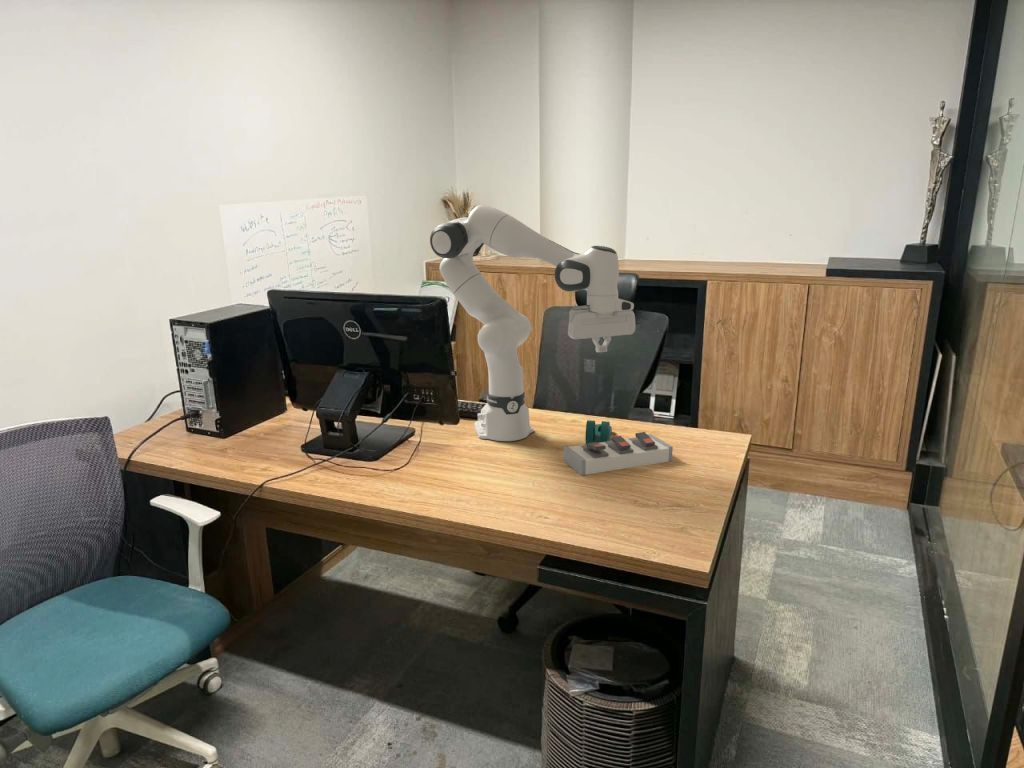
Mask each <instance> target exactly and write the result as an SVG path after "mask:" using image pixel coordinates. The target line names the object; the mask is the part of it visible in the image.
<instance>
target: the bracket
mask: <svg viewBox="0 0 1024 768" xmlns="http://www.w3.org/2000/svg"><path fill="white" fill-rule="evenodd" d="M612 432H613V428H612V426H611V424H610V421H601V423H600V424H599V423H597V424H596V421H595V420H586V425H585V440H584V441H585V444H584V445H586V443H593V442H597V443H601V442H608V441H611V437H612V434H613V433H612Z"/></svg>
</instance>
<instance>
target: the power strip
mask: <svg viewBox="0 0 1024 768" xmlns="http://www.w3.org/2000/svg"><path fill="white" fill-rule="evenodd" d="M647 435H648V436H649V437H650V438H651V439H652V440H653V441H654V442H655V445H653V446H646V447H645V446H644V445H643V444H642V443H641V442H640V441H639V439H638V438H637V437H636V436H635V437H629V438H624V439H625V440H626V441H627V442H628V443H629V444H630V445H631V447H630V449H623V450H621V449H620V448H619V447H618V446H617V445H616V444H615V443H614V442H612V441H611V440H610V441H608V442H601V443H599V444H602V445H605V446H606V449H603V450H597V451H596V450H593V449H591V448H588V447H586V445H585V444H580V445H574V446H568V445H565V446H563V462H564V463H565V464H567V466H569V467H571V468H572V469H573V470H574V471H576V472H577V473H578V474H579V475H580V476H586V475H592V474H598V473H605V472H606V473H607V472H610V471H618V470H624V469H629V468H637V467H643V466H649V465H655V464H662V463H669V462H673V450H674V447H673V445H671V444H669V443H667V442H665V441H664V440H662V439H661V438H658V437H656V436H655V435H653V434H651V433H648V434H647Z"/></svg>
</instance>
